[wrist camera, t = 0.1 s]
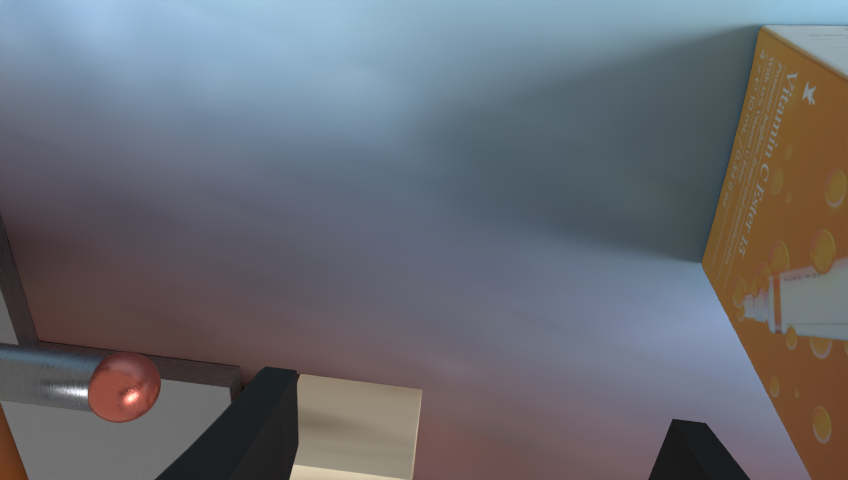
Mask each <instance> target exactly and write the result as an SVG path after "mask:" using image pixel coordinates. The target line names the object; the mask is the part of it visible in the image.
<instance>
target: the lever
mask: <svg viewBox="0 0 848 480" xmlns="http://www.w3.org/2000/svg"><path fill="white" fill-rule="evenodd" d="M160 390H161V378H160V374H159V371H158V369H157V368H156V366H155V365H154V363H153V362H152V361H150V360H149V359H148V358H146V357H145V356H143V355H140V354H137V353H133V352H121V353H116V354H113V355H110V356H102V355H94V354H86V353H78V352H70V351H62V350H55V349H47V348H39V347H31V346H23V345H16V344H8V343H0V400H3V401H11V402H19V403H26V404H34V405H41V406H49V407H57V408H64V409H72V410H79V411H87V412H93V413H94V414H95V415H97V416H98V417H100V418H101V419H103V420H106V421H109V422H114V423H124V422H130V421H133V420H136V419H138V418H140V417H141V416H143V415H145V414H146V413H147V412H148V411H149V410H150V409H151V408H152V407H153V406H154V404H155V403H156V401H157V399H158V397H159V394H160Z"/></svg>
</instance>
